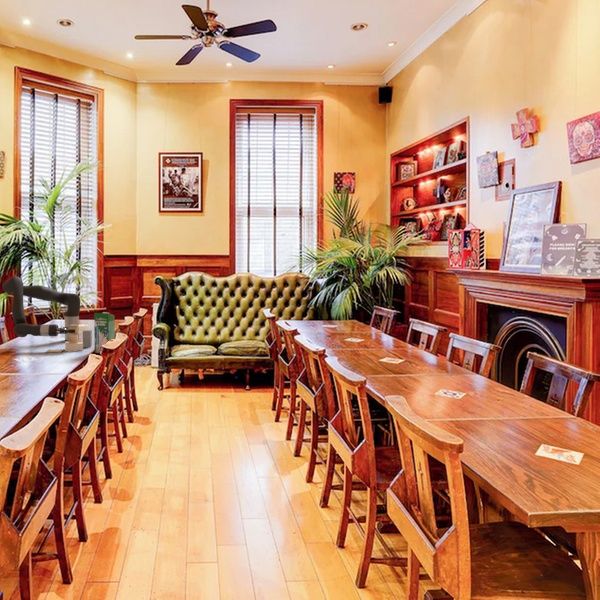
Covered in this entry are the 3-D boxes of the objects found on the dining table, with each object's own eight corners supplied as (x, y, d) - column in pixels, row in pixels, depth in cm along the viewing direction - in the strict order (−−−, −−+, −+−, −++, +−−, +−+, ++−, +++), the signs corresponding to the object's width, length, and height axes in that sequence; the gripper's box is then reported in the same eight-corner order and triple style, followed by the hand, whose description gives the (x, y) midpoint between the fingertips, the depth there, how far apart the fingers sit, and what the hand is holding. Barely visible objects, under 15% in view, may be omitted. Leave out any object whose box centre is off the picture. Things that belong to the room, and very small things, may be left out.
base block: (65, 349, 352) (65, 341, 351) (82, 348, 356) (82, 341, 355) (65, 352, 343) (65, 344, 342) (83, 351, 347) (83, 343, 346)
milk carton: (114, 351, 348) (114, 311, 346) (108, 353, 339) (108, 313, 337) (101, 350, 349) (100, 311, 347) (94, 352, 340) (94, 312, 338)
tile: (49, 350, 345) (49, 349, 345) (64, 350, 347) (64, 349, 347) (45, 352, 336) (45, 351, 336) (60, 352, 338) (60, 351, 338)
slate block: (84, 346, 363) (84, 330, 362) (92, 346, 364) (91, 329, 363) (82, 347, 358) (82, 330, 357) (90, 347, 359) (90, 330, 358)
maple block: (71, 342, 351) (70, 324, 350) (79, 341, 351) (78, 324, 351) (69, 343, 346) (68, 325, 345) (77, 342, 347) (76, 325, 346)
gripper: (46, 325, 338) (74, 325, 341) (52, 323, 352) (78, 323, 355) (46, 337, 339) (74, 337, 342) (52, 334, 353) (79, 334, 356)
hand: (76, 330), depth 348 cm, fingers open, 8 cm apart
